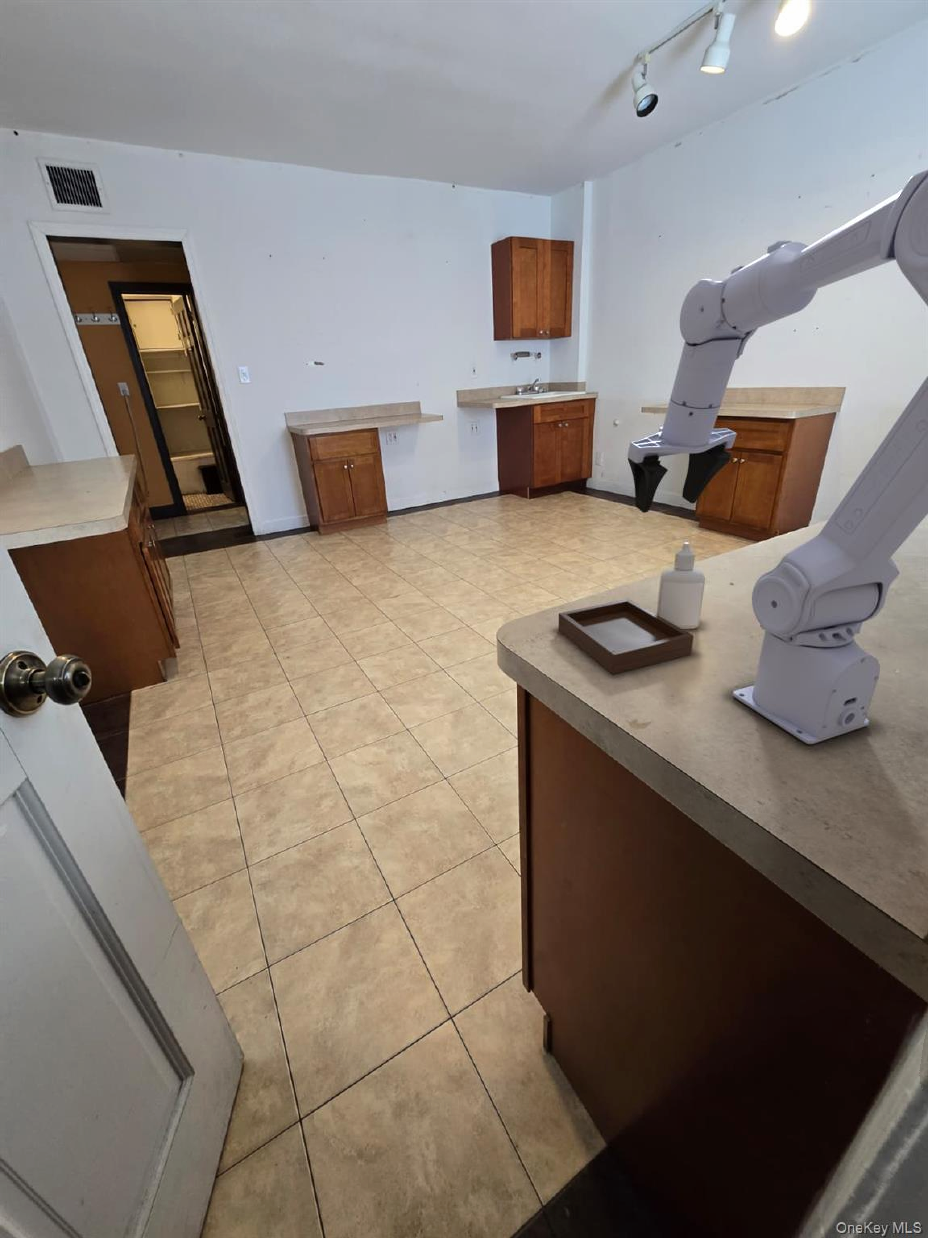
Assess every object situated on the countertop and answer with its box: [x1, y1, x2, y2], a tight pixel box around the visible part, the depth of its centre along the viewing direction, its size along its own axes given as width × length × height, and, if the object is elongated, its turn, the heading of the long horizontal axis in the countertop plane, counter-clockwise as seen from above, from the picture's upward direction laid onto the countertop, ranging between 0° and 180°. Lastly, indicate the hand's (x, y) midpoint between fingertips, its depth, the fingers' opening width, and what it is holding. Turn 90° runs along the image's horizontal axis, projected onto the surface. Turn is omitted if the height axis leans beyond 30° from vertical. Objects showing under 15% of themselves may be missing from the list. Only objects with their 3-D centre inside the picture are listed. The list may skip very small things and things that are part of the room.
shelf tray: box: [558, 598, 695, 675], centre depth 69 cm, size 14×12×3 cm
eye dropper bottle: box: [656, 541, 706, 630], centre depth 70 cm, size 4×6×12 cm
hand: (665, 504), depth 69 cm, fingers open, 7 cm apart
